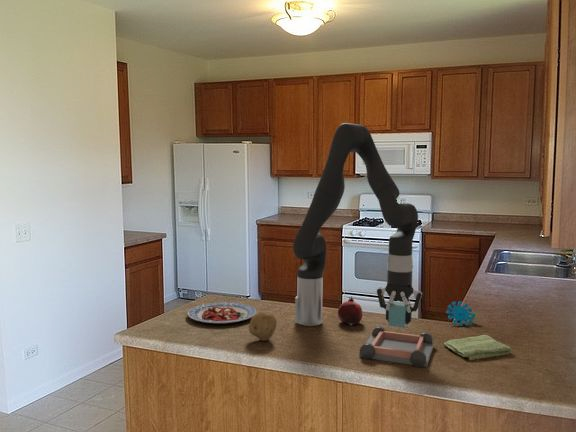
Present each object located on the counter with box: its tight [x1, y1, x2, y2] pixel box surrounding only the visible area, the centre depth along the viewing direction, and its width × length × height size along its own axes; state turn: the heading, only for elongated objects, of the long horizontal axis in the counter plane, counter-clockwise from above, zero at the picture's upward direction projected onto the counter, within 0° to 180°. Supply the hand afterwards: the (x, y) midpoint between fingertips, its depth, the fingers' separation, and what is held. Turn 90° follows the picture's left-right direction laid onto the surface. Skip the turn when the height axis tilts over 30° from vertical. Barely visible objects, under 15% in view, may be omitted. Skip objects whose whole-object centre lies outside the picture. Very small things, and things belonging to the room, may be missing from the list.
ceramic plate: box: [187, 301, 257, 325], centre depth 197 cm, size 26×26×3 cm
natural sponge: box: [248, 310, 278, 342], centre depth 171 cm, size 9×9×10 cm
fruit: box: [337, 295, 363, 327], centre depth 189 cm, size 9×10×10 cm
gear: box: [445, 300, 478, 327], centre depth 192 cm, size 11×6×10 cm
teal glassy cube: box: [387, 301, 408, 328], centre depth 161 cm, size 5×6×6 cm
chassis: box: [358, 325, 434, 368], centre depth 162 cm, size 20×19×4 cm
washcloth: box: [443, 334, 513, 361], centre depth 164 cm, size 13×18×3 cm
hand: (398, 322), depth 161 cm, fingers closed on teal glassy cube, 5 cm apart
